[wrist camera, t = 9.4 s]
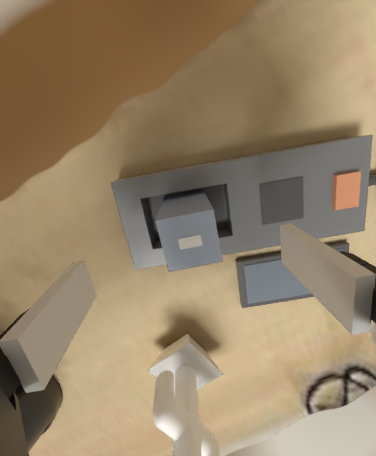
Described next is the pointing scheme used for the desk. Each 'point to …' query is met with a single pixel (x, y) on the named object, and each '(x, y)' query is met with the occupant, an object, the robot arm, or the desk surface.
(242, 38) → the desk surface
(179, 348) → the figurine
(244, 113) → the desk surface
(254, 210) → the power strip
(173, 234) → the brick
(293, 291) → the phone
